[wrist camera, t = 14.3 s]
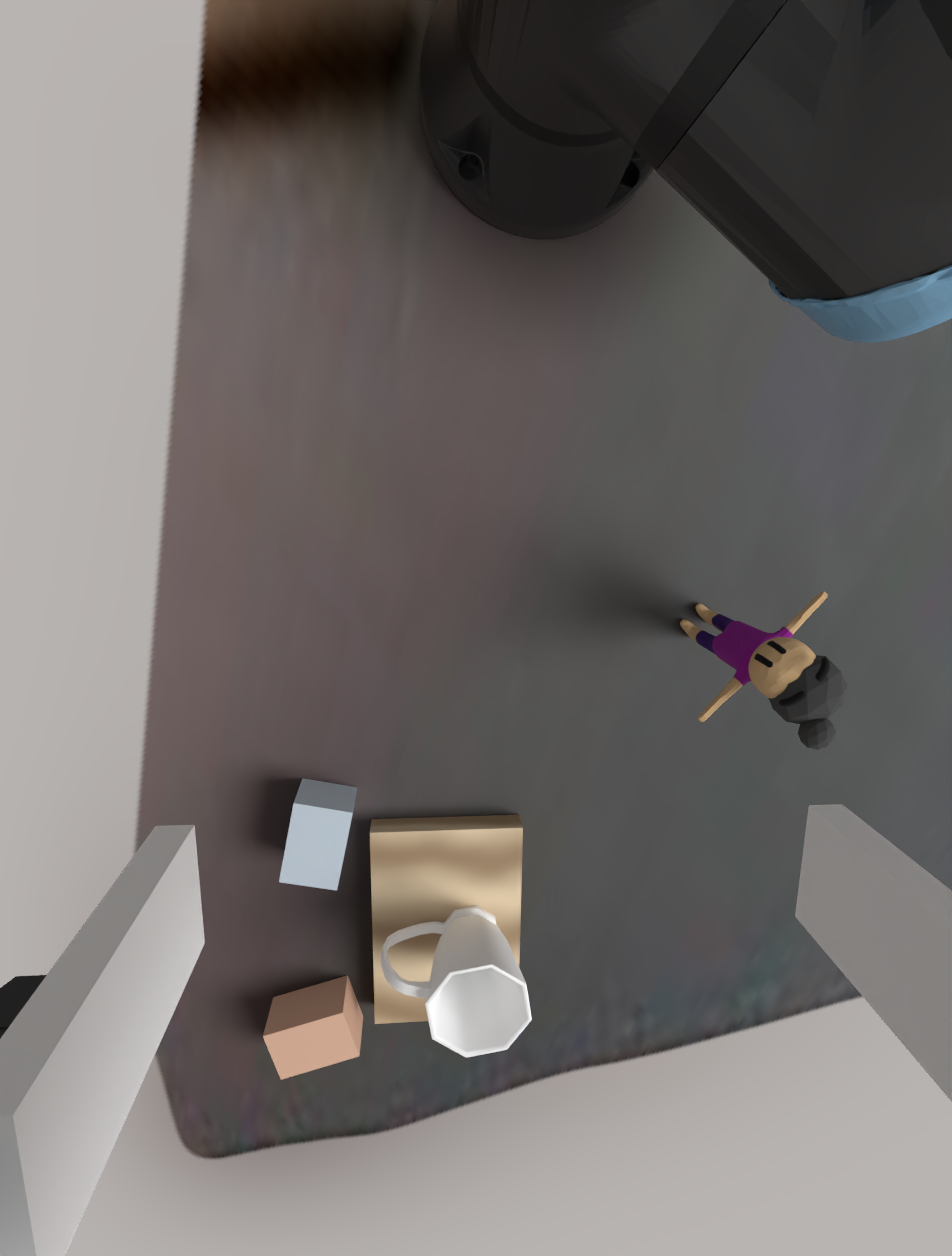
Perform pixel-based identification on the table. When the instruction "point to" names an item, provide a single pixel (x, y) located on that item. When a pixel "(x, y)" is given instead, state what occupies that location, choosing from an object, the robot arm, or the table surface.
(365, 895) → the table surface
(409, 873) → the oak board
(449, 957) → the cup
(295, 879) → the slate brick
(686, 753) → the table surface
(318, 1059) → the terracotta brick
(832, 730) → the toy
